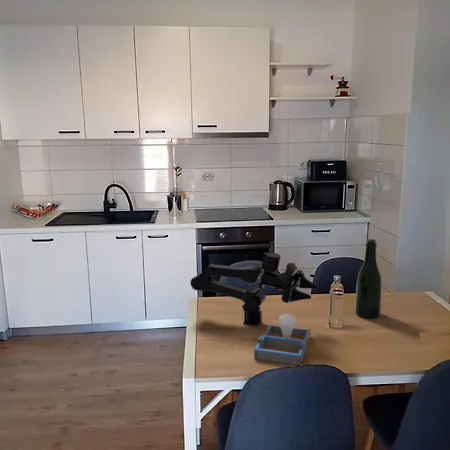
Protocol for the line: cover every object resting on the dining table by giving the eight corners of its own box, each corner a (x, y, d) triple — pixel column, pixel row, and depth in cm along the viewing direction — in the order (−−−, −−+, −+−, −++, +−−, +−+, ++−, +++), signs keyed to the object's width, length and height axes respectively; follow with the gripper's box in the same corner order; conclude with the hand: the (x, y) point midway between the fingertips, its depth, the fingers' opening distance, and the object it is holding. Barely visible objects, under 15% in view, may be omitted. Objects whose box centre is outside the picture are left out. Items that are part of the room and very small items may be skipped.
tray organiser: (254, 358, 158) (254, 345, 157) (269, 331, 179) (269, 319, 178) (300, 365, 153) (300, 351, 152) (310, 336, 174) (310, 324, 173)
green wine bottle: (374, 309, 200) (377, 236, 194) (385, 318, 190) (389, 241, 184) (351, 310, 199) (354, 237, 193) (361, 320, 189) (364, 242, 183)
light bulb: (295, 345, 167) (295, 317, 165) (277, 344, 169) (277, 316, 166) (296, 337, 174) (296, 310, 172) (278, 336, 175) (278, 309, 173)
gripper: (270, 271, 170) (311, 283, 165) (285, 254, 186) (323, 264, 181) (266, 297, 174) (306, 310, 169) (281, 278, 190) (318, 288, 185)
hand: (313, 292), depth 176 cm, fingers open, 9 cm apart
